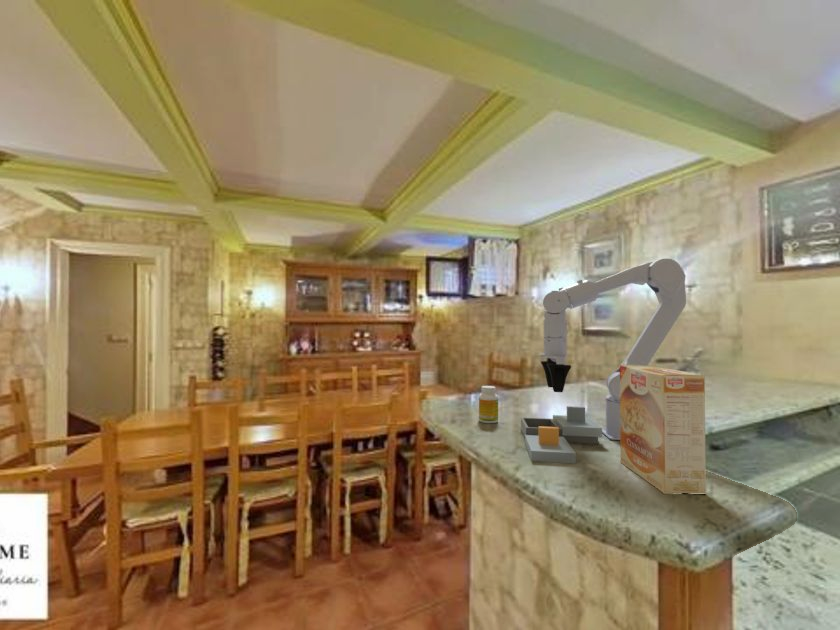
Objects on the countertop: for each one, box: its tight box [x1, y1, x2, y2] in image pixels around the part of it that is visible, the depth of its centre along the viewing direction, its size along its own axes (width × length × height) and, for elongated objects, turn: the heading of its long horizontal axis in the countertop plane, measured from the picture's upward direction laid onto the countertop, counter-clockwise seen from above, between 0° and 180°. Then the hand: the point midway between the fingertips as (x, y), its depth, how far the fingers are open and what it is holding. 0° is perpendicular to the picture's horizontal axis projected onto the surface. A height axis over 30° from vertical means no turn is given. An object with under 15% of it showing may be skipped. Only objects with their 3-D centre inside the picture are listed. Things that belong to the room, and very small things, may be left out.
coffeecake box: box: [619, 364, 707, 495], centre depth 70 cm, size 15×7×20 cm, turn 178°
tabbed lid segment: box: [524, 426, 577, 464], centre depth 83 cm, size 9×11×5 cm
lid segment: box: [552, 405, 603, 438], centre depth 94 cm, size 9×11×5 cm
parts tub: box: [520, 417, 599, 446], centre depth 95 cm, size 16×10×3 cm, turn 82°
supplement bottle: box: [478, 385, 499, 424], centre depth 110 cm, size 5×5×10 cm
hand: (555, 389), depth 102 cm, fingers open, 7 cm apart
